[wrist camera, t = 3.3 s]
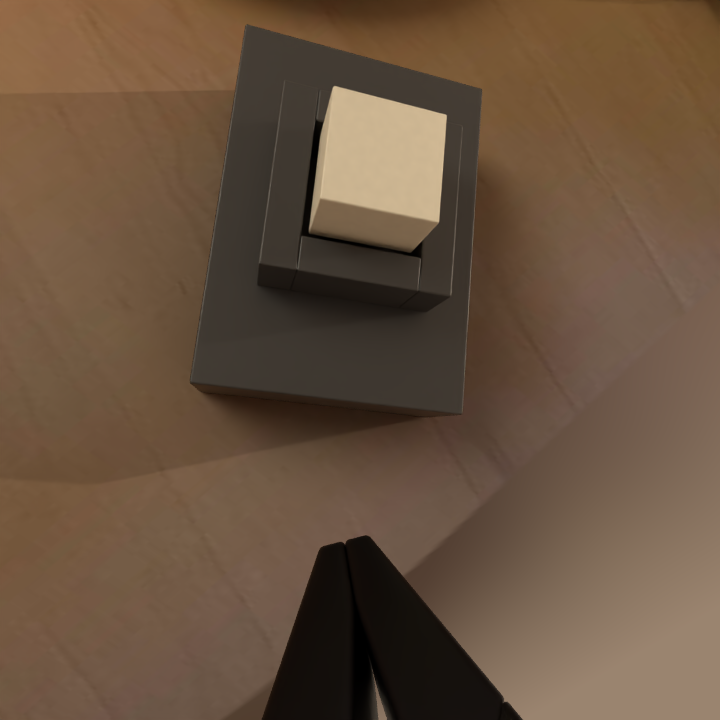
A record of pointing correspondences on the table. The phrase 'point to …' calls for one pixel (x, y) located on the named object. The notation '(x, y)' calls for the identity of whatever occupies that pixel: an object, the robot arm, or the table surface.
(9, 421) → the table surface
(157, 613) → the table surface
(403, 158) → the beige square block
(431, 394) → the grey stepped pedestal
